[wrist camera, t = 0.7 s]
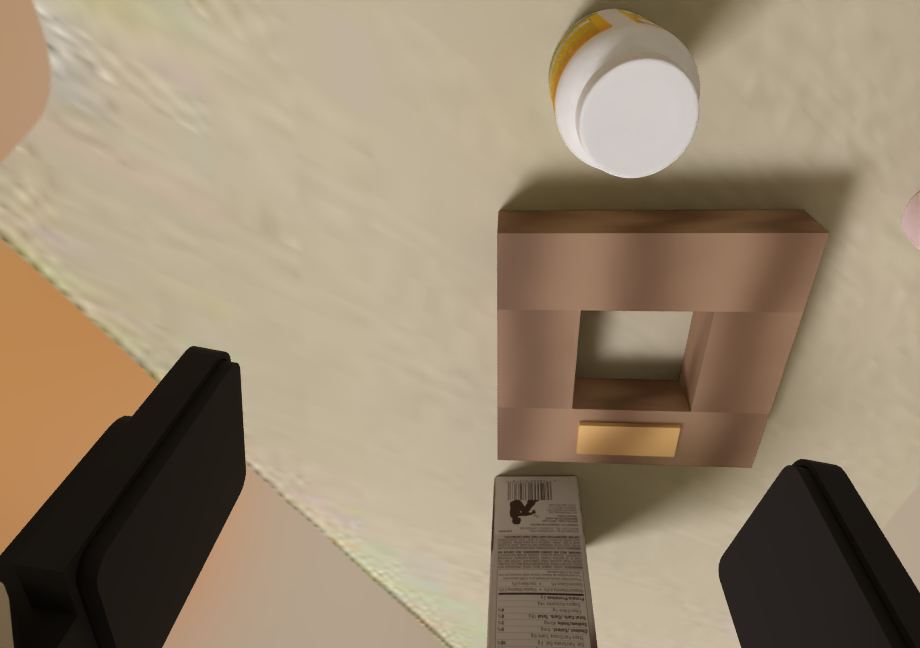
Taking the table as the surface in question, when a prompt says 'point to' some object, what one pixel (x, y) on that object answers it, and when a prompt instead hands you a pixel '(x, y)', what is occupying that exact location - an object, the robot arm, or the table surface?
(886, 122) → the table surface
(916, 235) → the smoothie
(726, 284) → the socket block
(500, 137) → the table surface
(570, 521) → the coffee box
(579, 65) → the supplement bottle
